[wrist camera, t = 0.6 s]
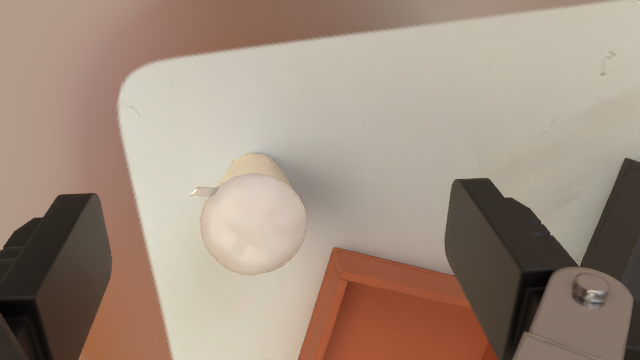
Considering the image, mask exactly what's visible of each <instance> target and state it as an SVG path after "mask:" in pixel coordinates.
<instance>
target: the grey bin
mask: <svg viewBox="0 0 640 360" xmlns="http://www.w3.org/2000/svg"><path fill="white" fill-rule="evenodd" d="M580 267H584V268H589V269H593V270H597V271H600V272H603V273H605V274H607V275H609V276H611V277H613V278H615V279H616V280H618V281H619V282H621V283H622V284H623V285H624V286H625V287H626V288H627V289H628V290H629V291H630V293H631V295H632V297H633V300H637V301H640V162H638V161H634V160H631V159H628V158H626V159H625V161H624V163H623V166H622V168H621V171H620V173H619V175H618V178H617V180H616V183H615V185H614V187H613V190H612V192H611V194H610V197H609V199H608V202H607V204H606V206H605V209H604V211H603V214H602V216H601V218H600V221H599V223H598V226H597V228H596V230H595V233H594V235H593V237H592V240H591V242H590V245H589V247H588V249H587V252H586V254H585V257H584V259H583V261H582V264H581V266H580Z"/></svg>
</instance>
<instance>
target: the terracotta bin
mask: <svg viewBox="0 0 640 360" xmlns="http://www.w3.org/2000/svg"><path fill="white" fill-rule="evenodd" d="M298 360H498V359H497V357H496V355H495V353H494V351H493V349H492V347H491V345H490V343H489V341H488V339H487V337H486V335H485V333H484V332H483V330H482V328H481V326H480V324H479V322H478V320H477V318H476V316H475V314H474V312H473V310H472V308H471V306H470V304H469V302H468V300H467V298H466V296H465V294H464V292H463V290H462V288H461V286H460V284H459V282H458V280H457V278H456V276H452V275H448V274H444V273H440V272H435V271H431V270H427V269H423V268H419V267H414V266H410V265H406V264H402V263H398V262H393V261H389V260H385V259H381V258H377V257H373V256H368V255H364V254H360V253H356V252H352V251H347V250H343V249H339V248H335V247H334V248H333V250H332V253H331V257H330V260H329V263H328V266H327V269H326V272H325V276H324V279H323V282H322V285H321V288H320V292H319V295H318V298H317V301H316V304H315V307H314V311H313V314H312V317H311V320H310V323H309V326H308V330H307V333H306V336H305V339H304V342H303V346H302V349H301V352H300V355H299V358H298Z"/></svg>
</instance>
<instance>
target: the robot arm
mask: <svg viewBox="0 0 640 360" xmlns="http://www.w3.org/2000/svg"><path fill="white" fill-rule="evenodd" d="M445 251H446V256H447V260H448V262H449V265H450V267H451V269H452V270H453V272H454V274H455V276H456V278H457V280H458V282H459V284H460V286H461V288H462V290H463V292H464V294H465V296H466V298H467V300H468V302H469V304H470V306H471V308H472V310H473V312H474V314H475V316H476V318H477V320H478V322H479V324H480V326H481V328H482V330H483V332H484V333H485V335H486V337H487V339H488V341H489V343H490V345H491V347H492V349H493V351H494V353H495V355H496V357H497V359H498V360H640V301H637V300H633V297H632V295H631V293H630V291H629V290H628V289H627V288H626V287H625V286H624V285H623V284H622V283H621V282H619V281H618V280H616V279H615V278H613V277H611V276H609V275H607V274H605V273H603V272H600V271H597V270H593V269H589V268H584V267H579V266H578V264H577V263H576V262H575V261H574V260H573V259H572V257H571V256H570V255H569V254H568V253H567V252H566V250H565V249H564V248H563V247H562V246H561V245H560V243H559V242H558V241H557V240H556V239H555V237H554V236H553V235H550V232H549V230H548V229H547V228H546V227H545V226H544V225H543V224H541V221H540V220H539V219H538V218H537V216H536V215H535V214H534V213H533V212H532V211H531V209H530V208H528V207H526V206H525V205H523V204H521V203H520V202H518V201H516V200H515V199H513V198H504V197H503V195H502V194H501V193H500V192H499V190H498V189H497V188H496V187H495V185H494V184H493V183H492V182H491V180H490V179H488V178H472V179H456V180H454V182H453V184H452V187H451V194H450V201H449V209H448V217H447V224H446V232H445ZM111 270H112V256H111V250H110V245H109V240H108V235H107V231H106V225H105V221H104V216H103V212H102V207H101V202H100V199H99V197H98V195H97V194H95V193H87V194H62V195H59V196H57V198H56V199H55V201H54V202H53V204H52V205H51V207H50V208H49V210H48V211H47V212H46V214H45V216H44V217H42V218H33V219H32V220H30V221H29V222H27V223H26V224H24V225H23V226H22V227H20V228H19V229H17V230H16V231H14V233H13V234H12V235H11V237H10V238H9V240H8V241H7V242H6V244H5V245H4V246H3V250H1V251H0V360H78V359H79V357H80V354H81V352H82V349H83V347H84V344H85V342H86V339H87V336H88V334H89V331H90V329H91V326H92V324H93V321H94V318H95V316H96V313H97V311H98V308H99V306H100V303H101V301H102V298H103V295H104V293H105V291H106V288H107V285H108V283H109V280H110V276H111Z"/></svg>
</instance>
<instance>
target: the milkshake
mask: <svg viewBox="0 0 640 360" xmlns="http://www.w3.org/2000/svg"><path fill="white" fill-rule="evenodd" d="M191 196H209V198H208V200H207V201H206V203H205V205H204V208H203V210H202V214H201V233H202V238H203V241H204V243H205V246H206V248H207V249H208V251H209V252H210V254H211V255H212V256H213V257H214V258H215V259H216V260H217V261H218V262H219V263H221V264H222V265H223V266H224V267H226V268H227V269H229V270H231V271H233V272H236V273H239V274H243V275H257V274H261V273H265V272H270V271H273V270H276V269H278V268H280V267H282V266H283V265H285V264H286V263H287V262H288V261H289V260H290V259H291V258H292V257H293V256H294V255H295V254H296V252H297V251H298V249H299V248H300V246H301V244H302V242H303V239H304V236H305V232H306V212H305V209H304V206H303V203H302V202H301V200H300V198H299V197H298V195H297V194H296V193H295V191H294V190H293V189H292V187H291V186H290V184H289V182H288V181H287V179H286V177H285V175H284V174H283V172H282V170H281V168H280V167H279V166H278V165H277V164H276V163H275V162H274V161H273V160H271V159H270V158H269V157H268V156H267V155H262V154H253V153H247V154H246V155H244V156H242V157H240V158H238V159H236V160H235V161H233V162H232V163H231V165H230V167H229V168H228V170H227V172H226V174H225V175H224V177H223V179H222V180H221V182H220V183H219V184H218V186H217V187H216V188H208V187H197V188H196V189H195V190H194V191H193V192H192V194H191Z"/></svg>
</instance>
